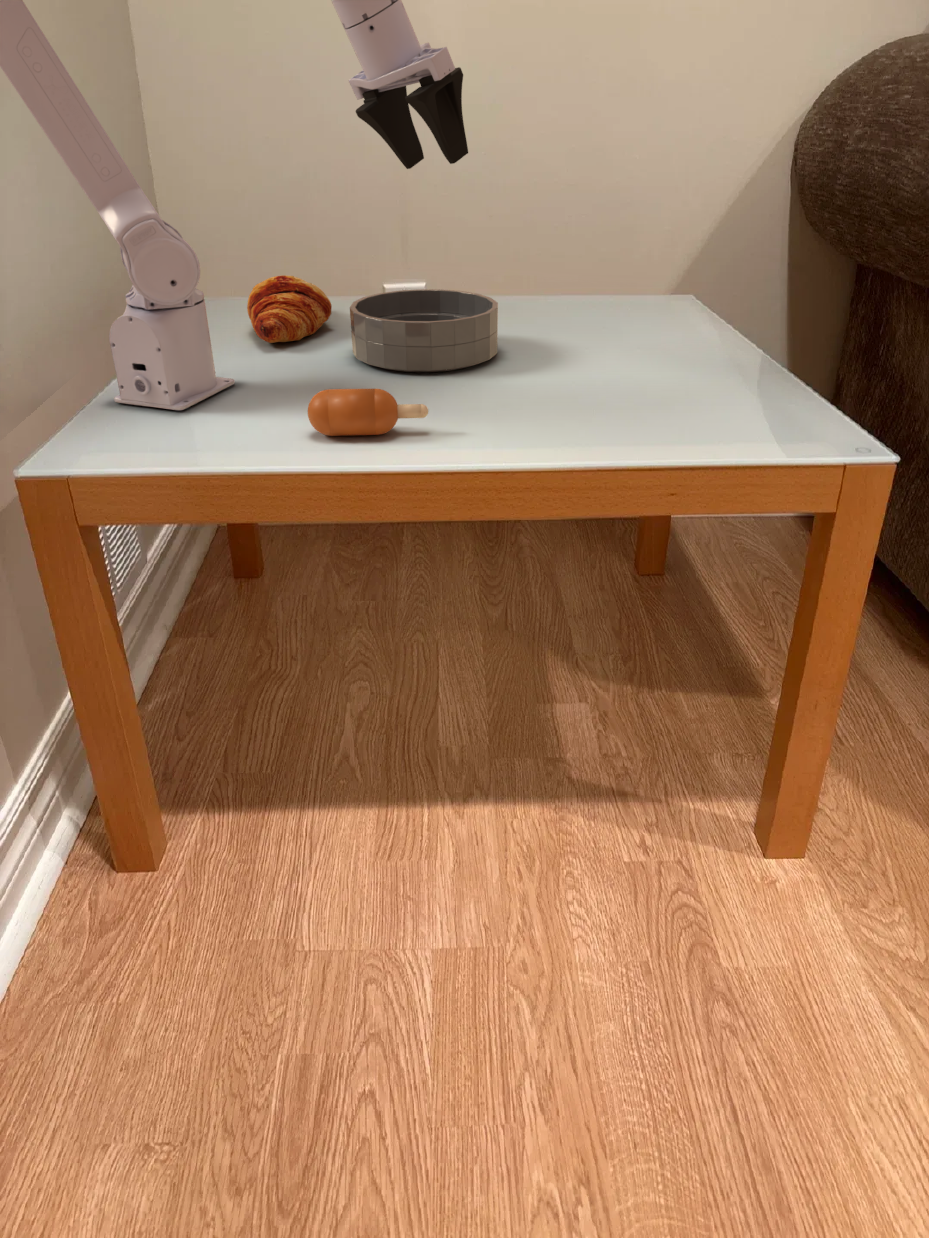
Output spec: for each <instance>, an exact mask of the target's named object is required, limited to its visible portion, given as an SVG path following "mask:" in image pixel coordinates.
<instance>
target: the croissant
mask: <svg viewBox="0 0 929 1238" xmlns="http://www.w3.org/2000/svg"><path fill="white" fill-rule="evenodd" d="M332 307H333V306H332V303H331V300H330V298H329V297H328V296H327V295H326V293H325V292H324V291H323V290H322V289H321V288H320V287H319V286H317V285H315V284H313V283H312V282H307V281H306V280H305V279H302V278H300V277H297V276H294V275H285V274H283V275H281V274H280V275H275V276H272V277H268V278H266V279H265V280H263V281H261V282H259V283H257V284H255V286H253V287H252V290H251V291H250V293H249V296H248V299H247V305H246V309H247V314H248V318H249V320H250V323H251V325H252V329H253V330H254V332H255V334H256V335H257V337H258V338H259V339H261V340H262V341H264V342H265V343H269V344H273V343H286V342H293V341H301V340H302V339H303V338H305V337H308V336H312V335H313V334H315V333H316V332H317V331H318V330H319V329H320V328H321V327H323V326H324V323H326V322H327V321H328V320H329V319H330V317H331V316H332Z"/></svg>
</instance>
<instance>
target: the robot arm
mask: <svg viewBox="0 0 929 1238" xmlns="http://www.w3.org/2000/svg"><path fill="white" fill-rule="evenodd" d="M330 1H331V3H332V5H333V8H334V10H335V13H336V14H337V16H338V19H339V21H340V24H341V25H342V27H343V29H344V32H345V34H346V36H347V38H348V41H349V42H350V45H351V47H352V49H353V51H354V52H355V55H356V58H357V60H358V62H359V64H360V66H361V69H362V70H361V71H359V72H358V73H357V74H355V75H353V76H352V77H351V78H349V79H348V83H349V86H350V87H351V89H352V91H353V94H354V96H355V98H356V100H362V99H364V100H362V101H363V104H361V105H360V106H359V107H358V108H356V110H355V114H356V116H357V117H358V118H359V119H360V120H362V121H363V122H364V123H365V124H367V125H368V126H369V127H370V128H372V129H373V130H374V131H375V132H376V133H377V134H378V135H379V136H380V137H381V139H383V141H384V142H385V143H386V144H387V145H388V147H389V148H390V149H391V151H392V152H393V154H394V155H395V156H396V157H397V158H398V160H399V161H400V163H401V164H402V165H403V166H404V168H405V169H407V170H411V169H412V168H414V167H415V166H416V165H417V164H419V163H420V162H421V161H423V160H424V159H425V155H424V152H423V147H422V144H421V141H420V138H419V136H418V133H417V130H416V128H415V124H414V121H413V118H412V114H411V110H410V107H411V108H412V109H414V111H415V112H416V113H417V114H418V115H419V117H421V119H422V120H423V122H424V123H425V124H426V126H427V127H428V129H429V130H430V132H431V133H432V135H433V137H434V139H435V141H436V143H437V145H438V147H439V149H440V151H441V153H442V154H443V156H444V158H445V159H446V160H447V162H448V163H449V164H450V165H453V164H455V163H456V164H457V162H458V161H460V160H461V159H463V158H464V157H465V156H466V155H468V154H469V148H468V141H467V136H466V130H465V123H464V115H463V104H462V101H463V100H462V99H463V97H462V96H463V95H462V93H463V81H464V73H463V70H462V68H461V67H460V66H459V67H456V66H455V64H454V61H453V59H452V57H451V54H450V52H449V49H448V47H447V46H443V47H438V48H437V47H436V48H435V47H431V44H430V42H424V43H421V44H420V41H419V40H418V37H417V34H416V32H415V29H414V28H413V24H412V22H411V19H410V18H409V15H408V12H407V11H406V7H405V6H404V3H403V1H402V0H330ZM0 69H1V71H2V72H3V73H4V74H5V76H6V77H7V79H8V80H9V82H10V83H11V85H12V87H13V88H14V90H15V91H16V93H17V94H18V96H19V97H20V98H21V100H22V102H23V103H24V104H25V106H26V108H27V109H28V110H29V112H30V113H31V115H32V117H33V118H34V119H35V121H36V122H37V124H38V125H39V127H40V128H41V130H42V131H43V133H44V134H45V136H46V137H47V139H48V140H49V142H50V143H51V145H52V146H53V148H54V149H55V151H56V152H57V154H58V155H59V157H60V158H61V160H62V161H63V162H64V164H65V166H66V167H67V169H68V170H69V171H70V173H71V174H72V176H73V177H74V179H75V180H76V182H77V184H78V185H79V186H80V188H81V189H82V191H83V192H84V193H85V195H86V197H87V198H88V199H89V201H90V203H91V204H92V205H93V207H94V209H95V210H96V212H97V213H98V214H99V216H100V218H101V219H102V221H103V222H104V224H105V225H106V227H107V229H108V230H109V232H110V234H111V236H112V237H113V238H114V240H115V241H116V243H117V245H118V246H119V252H120V253H119V254H120V258H121V261H122V264H123V266H124V268H125V270H126V271H127V274H128V277H129V280H130V282H131V287H130V289H129V291H128V292H127V293H126V294H125V302H126V307H125V309H124V312H123V314H122V315H120V316H118V317H117V318H116V319H115V320H113V322H112V324H111V326H110V329H109V334H108V335H109V337H108V340H109V346H110V352H111V357H112V361H113V365H114V367H113V368H114V371H115V377H116V381H117V386H118V391H119V394H118V395H116V396H114V397H113V401H114V402H115V403H119V404H126V405H134V406H142V407H149V408H158V409H166V410H172V411H184V410H186V409H188V408H190V407H191V406H194V405H196V404H199V403H200V402H202V401H204V400H205V399H208V398H209V397H212V396H214V395H215V394H217V393H219V392H222V391H223V390H225V389H227V388H229V387H231V386H233V385H234V384H236V382H235V378H230V377H221V376H217V375H216V369H215V367H216V366H215V362H214V355H213V348H212V341H211V340H212V339H211V334H210V327H209V321H208V314H207V307H206V300H205V293H204V292H203V290H201V289H198V288H197V287H198V285H199V283H200V278H201V265H200V261H199V258H198V256H197V254H196V252H195V250H194V249H193V247H192V246H191V245H190V244H189V242H187V240H185V239H184V237H183V236H182V234H181V233H180V232H179V231H178V230H177V229H176V228H175V227H174V226H173V225H171V224H170V223H168V222H166V221H165V220H163V219H162V218H161V216H160V214H159V213H158V211H157V210H156V209H155V207H154V205H153V204H152V202H151V200H149V197H148V196H147V195H146V193H145V192H144V190H143V188H142V187H141V185H140V184H139V182H138V181H137V179H136V177H135V176H134V175H133V173H132V171H131V169H130V168H129V167H128V165H127V163H126V162H125V160H124V158H123V157H122V155H121V154H120V152H119V151H118V149H117V148H116V146H115V144H114V143H113V141H112V140H111V138H110V137H109V135H108V134H107V132H106V130H105V128H104V127H103V125H102V124H101V122H100V121H99V118H98V117H97V116H96V114H95V113H94V111H93V110H92V108H91V106H90V105H89V103H88V102H87V99H85V96H84V95H83V93H82V92H81V90H80V89H79V87H78V86H77V84H76V83H75V81H74V79H73V78H72V76H71V75H70V73H69V71H68V70H67V69H66V67H65V65H64V64H63V62H62V60H61V59H60V57H59V56H58V54H57V53H56V51H55V50H54V47H53V46H52V45H51V43H50V42H49V39H48V38H47V37H46V35H45V34H44V32H43V31H42V28H41V27H40V26H39V24H38V23H37V21H36V19H35V17H34V16H33V15H32V13H31V11H30V10H29V8H28V7H27V5H26V4H25V2H24V0H0ZM415 84H419V85H420V86H419V87H417V88H415V90H413V91H412V92H410V93H409V94H408V91H407V90H408V89H407V86H411V85H415ZM409 105H410V106H409Z"/></svg>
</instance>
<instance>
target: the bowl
mask: <svg viewBox="0 0 929 1238" xmlns="http://www.w3.org/2000/svg"><path fill="white" fill-rule="evenodd" d="M349 318H350V319H349V320H350V330H351V331H350V332H351V334H350V335H351V348H352V354H353V356H354V357H355V358H356V359H357V360H358V361H361V362H363V363H365V364H366V365H370V366H373V367H377V368H380V369H383V370H384V369H385V370H389V371H394V372H395V371H396V372H405V373H440V372H451V371H456V370H462V369H466V368H469V367H472V366H476V365H479V364H481V363H484V362H487V361H489V360H491V359H492V358H493V357H495V356H496V355H497V354H498V334H499V333H498V326H499V325H498V324H499V322H498V321H499V302H498V301H496V300H495V299H493V297H489V296H487V295H483V294H480V293H477V292H471V291H470V292H469V291H464V290H455V289H443V288H442V289H436V288H435V289H433V288H432V289H431V288H430V289H428V288H420V289H419V288H418V289H404V290H403V289H402V290H393V291H392V290H391V291H385V292H379V293H375V294H371V295H366V296H363V297H361V298H359V299H356V300H354V301H353V302H352V303H351V304H350V306H349Z"/></svg>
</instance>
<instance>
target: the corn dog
mask: <svg viewBox="0 0 929 1238" xmlns="http://www.w3.org/2000/svg"><path fill="white" fill-rule="evenodd" d="M428 414H429V408H428V406H427V405H426V404H424V403H412V404H411V403H408V404H405V403H404V404H403V403H402V404H399V403H398V402H397V400H396V398H395V397H394V396H393V395H392V393H390V392H389V391H387V390H385V389H381V388H329V389H323V390H320V391H318V392H317V393H316V394H314V395H313V396H312V397H311V399H310V401H309V402H308V406H307V418H308V421H309V423H310V425H311V426H312V428H313V429H314V430H315V431H317V433H320V434H321V435H325V436H328V437H329V436H330V437H343V436H347V437H348V436H381V435H384V434H386V433H388V432H390V431H391V430H392V429H394V427H395V426H396V424H397V422H398V420H399V419H424V418H426V417H427V416H428Z"/></svg>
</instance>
